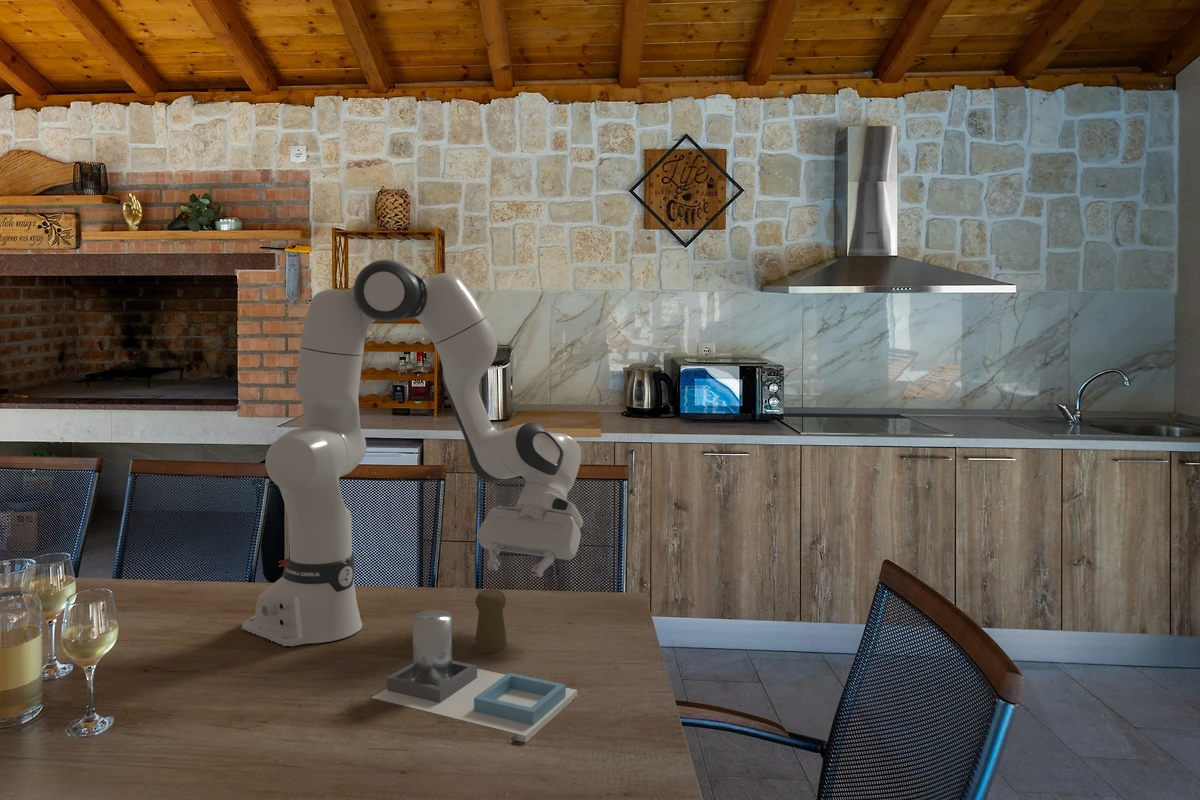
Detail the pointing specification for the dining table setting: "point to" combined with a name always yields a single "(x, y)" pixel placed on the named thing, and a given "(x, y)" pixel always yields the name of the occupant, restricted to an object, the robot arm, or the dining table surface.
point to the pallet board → (483, 698)
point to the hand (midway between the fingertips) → (513, 571)
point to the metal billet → (432, 647)
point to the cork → (490, 622)
